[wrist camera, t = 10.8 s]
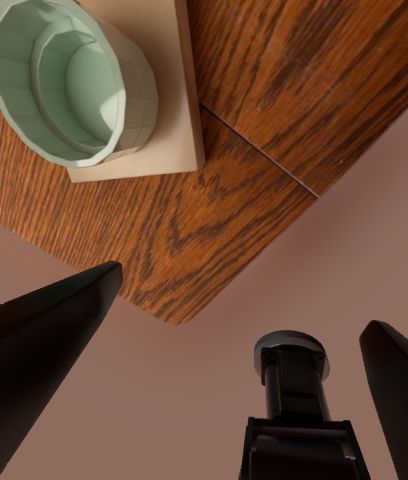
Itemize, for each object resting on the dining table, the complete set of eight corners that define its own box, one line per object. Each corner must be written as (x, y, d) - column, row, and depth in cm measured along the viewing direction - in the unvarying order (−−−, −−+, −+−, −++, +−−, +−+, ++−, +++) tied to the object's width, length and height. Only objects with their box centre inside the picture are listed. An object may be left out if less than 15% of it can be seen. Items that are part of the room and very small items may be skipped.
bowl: (170, 149, 15) (142, 161, 11) (82, 160, 17) (29, 173, 13) (145, 11, 12) (94, -39, 8) (39, 40, 14) (-46, 9, 10)
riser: (206, 162, 18) (198, 170, 15) (95, 174, 20) (72, 183, 18) (184, -13, 14) (168, -44, 11) (45, 27, 16) (4, 9, 13)
